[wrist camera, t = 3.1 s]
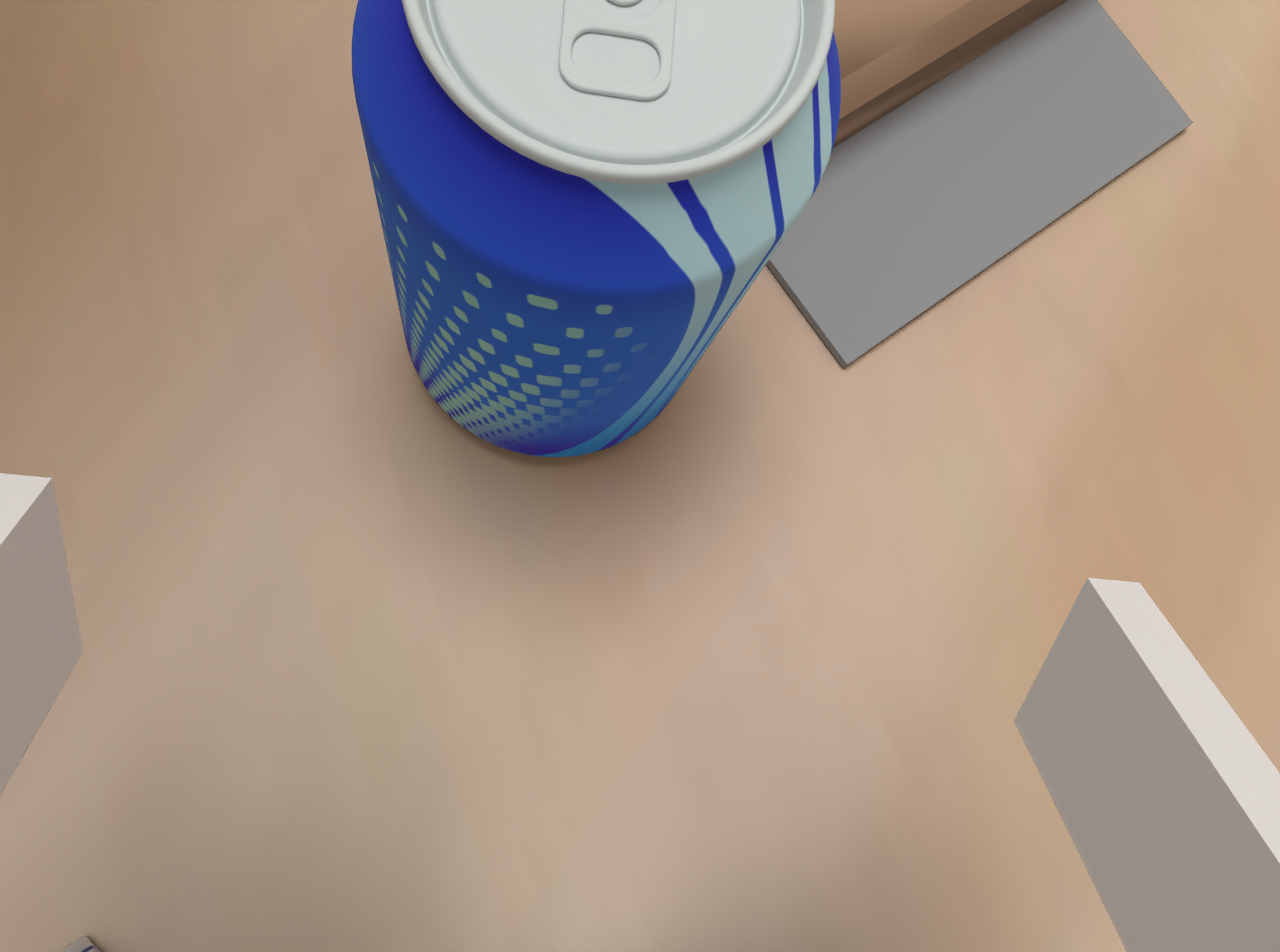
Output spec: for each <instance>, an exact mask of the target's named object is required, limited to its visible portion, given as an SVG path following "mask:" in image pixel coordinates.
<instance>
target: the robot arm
mask: <svg viewBox="0 0 1280 952" xmlns="http://www.w3.org/2000/svg"><path fill="white" fill-rule="evenodd" d="M82 652H83V648H82V643H81V637H80V632H79V626H78V621H77V615H76V609H75V604H74V598H73V593H72V587H71V582H70V576H69V571H68V565H67V560H66V554H65V548H64V543H63V537H62V532H61V526H60V521H59V515H58V510H57V504H56V499H55V493H54V487H53V482H52V478H46V477H35V476H25V475H15V474H4V473H0V795H1V794H2V792H3V790H4V788H5V787H6V785H7V783H8V781H9V780H10V778H11V776H12V774H13V773H14V771H15V769H16V767H17V766H18V764H19V762H20V760H21V759H22V757H23V755H24V753H25V752H26V750H27V748H28V746H29V745H30V743H31V741H32V740H33V738H34V736H35V734H36V733H37V731H38V729H39V727H40V726H41V724H42V722H43V720H44V719H45V717H46V715H47V713H48V712H49V710H50V708H51V706H52V705H53V703H54V701H55V699H56V698H57V696H58V694H59V692H60V691H61V689H62V687H63V685H64V684H65V682H66V680H67V678H68V677H69V675H70V673H71V671H72V670H73V668H74V666H75V664H76V663H77V661H78V659H79V657H80V656H81V654H82ZM1014 721H1015V724H1016V726H1017V728H1018V730H1019V732H1020V734H1021V736H1022V738H1023V740H1024V742H1025V744H1026V746H1027V748H1028V750H1029V752H1030V754H1031V756H1032V758H1033V760H1034V762H1035V765H1036V767H1037V769H1038V771H1039V773H1040V775H1041V777H1042V779H1043V781H1044V783H1045V785H1046V787H1047V789H1048V791H1049V793H1050V795H1051V797H1052V799H1053V801H1054V804H1055V806H1056V808H1057V810H1058V812H1059V814H1060V816H1061V818H1062V820H1063V822H1064V824H1065V826H1066V828H1067V830H1068V832H1069V834H1070V836H1071V838H1072V840H1073V842H1074V845H1075V847H1076V849H1077V851H1078V853H1079V855H1080V857H1081V859H1082V861H1083V863H1084V865H1085V867H1086V869H1087V871H1088V873H1089V875H1090V877H1091V879H1092V881H1093V884H1094V886H1095V888H1096V890H1097V892H1098V894H1099V896H1100V898H1101V900H1102V902H1103V904H1104V906H1105V908H1106V910H1107V912H1108V914H1109V916H1110V918H1111V920H1112V922H1113V925H1114V927H1115V929H1116V931H1117V933H1118V935H1119V937H1120V939H1121V941H1122V943H1123V945H1124V947H1125V949H1126V951H1127V952H1280V773H1279V772H1278V770H1277V769H1276V768H1275V766H1274V765H1273V764H1272V762H1271V761H1270V760H1269V758H1268V757H1267V756H1266V754H1265V753H1264V751H1263V750H1262V749H1261V747H1260V746H1259V745H1258V743H1257V742H1256V741H1255V739H1254V738H1253V736H1252V735H1251V734H1250V732H1249V731H1248V730H1247V728H1246V727H1245V726H1244V724H1243V723H1242V722H1241V720H1240V719H1239V717H1238V716H1237V715H1236V713H1235V712H1234V711H1233V709H1232V708H1231V707H1230V705H1229V704H1228V702H1227V701H1226V700H1225V698H1224V697H1223V696H1222V694H1221V693H1220V692H1219V690H1218V689H1217V688H1216V686H1215V685H1214V683H1213V682H1212V681H1211V679H1210V678H1209V677H1208V675H1207V674H1206V673H1205V671H1204V670H1203V668H1202V667H1201V666H1200V664H1199V663H1198V662H1197V660H1196V659H1195V658H1194V656H1193V655H1192V654H1191V652H1190V651H1189V649H1188V648H1187V647H1186V645H1185V644H1184V643H1183V641H1182V640H1181V639H1180V637H1179V636H1178V634H1177V633H1176V632H1175V630H1174V629H1173V628H1172V626H1171V625H1170V624H1169V622H1168V621H1167V620H1166V618H1165V617H1164V615H1163V614H1162V613H1161V611H1160V610H1159V609H1158V607H1157V606H1156V605H1155V603H1154V602H1153V600H1152V599H1151V598H1150V596H1149V595H1148V594H1147V592H1146V591H1145V590H1144V588H1143V587H1142V586H1141V584H1140V583H1136V582H1126V581H1116V580H1105V579H1095V578H1087V580H1086V582H1085V584H1084V586H1083V587H1082V589H1081V591H1080V593H1079V595H1078V597H1077V599H1076V601H1075V603H1074V605H1073V607H1072V609H1071V611H1070V613H1069V615H1068V617H1067V619H1066V621H1065V622H1064V624H1063V626H1062V628H1061V630H1060V632H1059V634H1058V636H1057V638H1056V640H1055V642H1054V644H1053V646H1052V648H1051V650H1050V652H1049V654H1048V656H1047V657H1046V659H1045V661H1044V663H1043V665H1042V667H1041V669H1040V671H1039V673H1038V675H1037V677H1036V679H1035V681H1034V683H1033V685H1032V687H1031V689H1030V691H1029V693H1028V694H1027V696H1026V698H1025V700H1024V702H1023V704H1022V706H1021V708H1020V710H1019V712H1018V714H1017V716H1016V718H1015V720H1014Z"/></svg>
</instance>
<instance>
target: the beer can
mask: <svg viewBox="0 0 1280 952" xmlns="http://www.w3.org/2000/svg"><path fill="white" fill-rule="evenodd" d="M834 17H835V0H358V4H357V9H356V14H355V19H354V25H353V37H352V76H353V83H354V90H355V97H356V103H357V107H358V112H359V117H360V122H361V127H362V131H363V136H364V141H365V146H366V151H367V156H368V160H369V165H370V170H371V175H372V180H373V184H374V189H375V194H376V199H377V204H378V209H379V213H380V218H381V223H382V228H383V233H384V237H385V242H386V247H387V252H388V257H389V262H390V266H391V271H392V276H393V281H394V286H395V290H396V295H397V300H398V305H399V310H400V315H401V319H402V324H403V329H404V334H405V339H406V343H407V347H408V350H409V354H410V356H411V359H412V362H413V365H414V367H415V369H416V371H417V373H418V375H419V377H420V379H421V381H422V382H423V384H424V386H425V387H426V389H427V390H428V392H429V393H430V394H431V396H432V397H433V398H434V400H435V401H436V402H437V403H438V405H439V406H440V407H441V408H442V409H443V410H444V411H445V412H446V413H447V414H448V415H449V416H450V417H451V418H453V419H454V420H455V421H456V422H457V423H458V424H460V425H461V426H462V427H464V428H465V429H467V430H468V431H469V432H471V433H473V434H474V435H476V436H478V437H479V438H481V439H483V440H485V441H487V442H489V443H491V444H494V445H496V446H498V447H501V448H504V449H507V450H510V451H513V452H517V453H521V454H526V455H532V456H539V457H570V456H577V455H584V454H588V453H592V452H596V451H600V450H603V449H605V448H608V447H611V446H613V445H615V444H618V443H620V442H622V441H624V440H626V439H627V438H629V437H631V436H633V435H634V434H636V433H637V432H639V431H640V430H641V429H643V428H644V427H645V426H647V425H648V424H649V423H650V422H651V421H652V420H654V419H655V418H656V417H657V416H658V415H659V414H660V413H661V412H662V410H663V409H664V408H665V407H666V406H667V405H668V403H669V402H670V401H671V399H672V398H673V396H674V395H675V394H676V392H677V391H678V389H679V388H680V386H681V385H682V384H683V382H684V381H685V379H686V378H687V376H688V375H689V374H690V372H691V371H692V369H693V368H694V366H695V365H696V364H697V362H698V361H699V359H700V358H701V356H702V355H703V353H704V352H705V351H706V349H707V348H708V346H709V345H710V343H711V342H712V341H713V339H714V338H715V336H716V335H717V333H718V332H719V331H720V329H721V328H722V326H723V325H724V323H725V322H726V321H727V319H728V318H729V316H730V315H731V313H732V312H733V311H734V309H735V308H736V306H737V305H738V303H739V302H740V301H741V299H742V298H743V296H744V295H745V293H746V292H747V290H748V289H749V288H750V286H751V285H752V283H753V282H754V280H755V279H756V278H757V276H758V275H759V273H760V272H761V270H762V269H763V268H764V266H765V265H766V263H767V262H768V260H769V259H770V258H771V256H772V255H773V253H774V252H775V250H776V249H777V248H778V246H779V245H780V243H781V242H782V240H783V239H784V237H785V236H786V235H787V233H788V232H789V230H790V229H791V227H792V226H793V225H794V223H795V222H796V220H797V219H798V217H799V216H800V215H801V213H802V212H803V210H804V209H805V207H806V206H807V205H808V203H809V201H810V199H811V198H812V196H813V194H814V192H815V191H816V189H817V187H818V185H819V183H820V180H821V178H822V176H823V173H824V171H825V169H826V166H827V164H828V162H829V159H830V156H831V152H832V149H833V146H834V143H835V139H836V134H837V128H838V123H839V115H840V103H841V75H840V64H839V56H838V49H837V45H836V40H835V36H834V32H833V29H834Z"/></svg>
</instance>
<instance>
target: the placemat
mask: <svg viewBox="0 0 1280 952" xmlns="http://www.w3.org/2000/svg"><path fill="white" fill-rule="evenodd" d="M1192 123H1193V122H1192V121H1191V119H1190V118H1189V117H1188V115H1187V114H1186V113H1185V112H1184V110H1183V109H1182V108H1181V107H1180V105H1179V104H1178V103H1177V101H1176V100H1175V99H1174V98H1173V96H1172V95H1171V94H1170V93H1169V91H1168V90H1167V89H1166V87H1165V86H1164V85H1163V84H1162V82H1161V81H1160V80H1159V79H1158V77H1157V76H1156V75H1155V73H1154V72H1153V71H1152V70H1151V68H1150V67H1149V66H1148V64H1147V63H1146V62H1145V61H1144V59H1143V58H1142V57H1141V56H1140V54H1139V53H1138V52H1137V50H1136V49H1135V48H1134V47H1133V45H1132V44H1131V43H1130V42H1129V40H1128V39H1127V38H1126V36H1125V35H1124V34H1123V33H1122V31H1121V30H1120V29H1119V28H1118V26H1117V25H1116V24H1115V22H1114V21H1113V20H1112V19H1111V17H1110V16H1109V15H1108V13H1107V12H1106V11H1105V10H1104V8H1103V7H1102V6H1101V5H1100V3H1099V2H1098V1H1097V0H1068V1H1067V2H1065V3H1063V4H1062V5H1060V6H1059V7H1057V8H1055V9H1054V10H1052V11H1051V12H1049V13H1047V14H1046V15H1044V16H1043V17H1041V18H1040V19H1038V20H1036V21H1035V22H1033V23H1032V24H1030V25H1028V26H1027V27H1025V28H1024V29H1022V30H1020V31H1019V32H1017V33H1016V34H1014V35H1012V36H1011V37H1009V38H1008V39H1006V40H1004V41H1003V42H1001V43H1000V44H998V45H997V46H995V47H993V48H992V49H990V50H989V51H987V52H985V53H984V54H982V55H981V56H979V57H977V58H976V59H974V60H973V61H971V62H969V63H968V64H966V65H965V66H963V67H961V68H960V69H958V70H957V71H955V72H954V73H952V74H950V75H949V76H947V77H946V78H944V79H942V80H941V81H939V82H938V83H936V84H934V85H933V86H931V87H930V88H928V89H926V90H925V91H923V92H922V93H920V94H918V95H917V96H915V97H914V98H912V99H911V100H909V101H907V102H906V103H904V104H903V105H901V106H899V107H898V108H896V109H895V110H893V111H891V112H890V113H888V114H887V115H885V116H883V117H882V118H880V119H879V120H877V121H875V122H874V123H872V124H871V125H869V126H868V127H866V128H864V129H863V130H861V131H860V132H858V133H856V134H855V135H853V136H852V137H850V138H848V139H847V140H845V141H844V142H842V143H840V144H839V145H837V146H836V147H834V148H833V149H832V152H831V156H830V159H829V162H828V164H827V166H826V169H825V171H824V173H823V176H822V178H821V180H820V183H819V185H818V187H817V189H816V191H815V192H814V194H813V196H812V198H811V199H810V201H809V203H808V205H807V206H806V207H805V209H804V210H803V212H802V213H801V215H800V216H799V217H798V219H797V220H796V222H795V223H794V225H793V226H792V227H791V229H790V230H789V232H788V233H787V235H786V236H785V237H784V239H783V240H782V242H781V243H780V245H779V246H778V248H777V249H776V250H775V252H774V253H773V255H772V256H771V258H770V259H769V260H768V262H767V263H766V265H767V266H768V268H769V269H770V270H771V272H772V273H773V275H774V276H775V277H776V279H777V280H778V281H779V283H780V284H781V285H782V287H783V288H784V289H785V291H786V292H787V294H788V295H789V296H790V298H791V299H792V300H793V302H794V303H795V304H796V306H797V307H798V308H799V310H800V311H801V312H802V314H803V315H804V317H805V318H806V319H807V321H808V322H809V323H810V325H811V326H812V327H813V329H814V330H815V331H816V333H817V334H818V335H819V337H820V338H821V340H822V341H823V342H824V344H825V345H826V346H827V348H828V349H829V350H830V352H831V353H832V354H833V356H834V357H835V359H836V360H837V361H838V363H839V364H840V365H841V367H842V368H844V367H846V366H847V365H848V364H850V363H851V362H853V361H854V360H856V359H857V358H858V357H860V356H861V355H863V354H864V353H866V352H867V351H868V350H870V349H871V348H873V347H874V346H876V345H877V344H878V343H880V342H881V341H883V340H884V339H886V338H887V337H888V336H890V335H891V334H893V333H894V332H896V331H897V330H898V329H900V328H901V327H903V326H904V325H906V324H907V323H908V322H910V321H911V320H913V319H914V318H916V317H917V316H918V315H920V314H921V313H923V312H924V311H926V310H927V309H929V308H930V307H931V306H933V305H934V304H936V303H937V302H939V301H940V300H941V299H943V298H944V297H946V296H947V295H949V294H950V293H951V292H953V291H954V290H956V289H957V288H959V287H960V286H961V285H963V284H964V283H966V282H967V281H969V280H970V279H971V278H973V277H974V276H976V275H977V274H979V273H980V272H981V271H983V270H984V269H986V268H987V267H989V266H990V265H991V264H993V263H994V262H996V261H997V260H999V259H1000V258H1001V257H1003V256H1004V255H1006V254H1007V253H1009V252H1010V251H1011V250H1013V249H1014V248H1016V247H1017V246H1019V245H1020V244H1021V243H1023V242H1024V241H1026V240H1027V239H1029V238H1030V237H1031V236H1033V235H1034V234H1036V233H1037V232H1039V231H1040V230H1041V229H1043V228H1044V227H1046V226H1047V225H1049V224H1050V223H1052V222H1053V221H1054V220H1056V219H1057V218H1059V217H1060V216H1062V215H1063V214H1064V213H1066V212H1067V211H1069V210H1070V209H1072V208H1073V207H1074V206H1076V205H1077V204H1079V203H1080V202H1082V201H1083V200H1084V199H1086V198H1087V197H1089V196H1090V195H1092V194H1093V193H1094V192H1096V191H1097V190H1099V189H1100V188H1102V187H1103V186H1104V185H1106V184H1107V183H1109V182H1110V181H1112V180H1113V179H1114V178H1116V177H1117V176H1119V175H1120V174H1122V173H1123V172H1124V171H1126V170H1127V169H1129V168H1130V167H1132V166H1133V165H1134V164H1136V163H1137V162H1139V161H1140V160H1142V159H1143V158H1144V157H1146V156H1147V155H1149V154H1150V153H1152V152H1153V151H1154V150H1156V149H1157V148H1159V147H1160V146H1162V145H1163V144H1164V143H1166V142H1167V141H1169V140H1170V139H1172V138H1173V137H1175V136H1176V135H1177V134H1179V133H1180V132H1182V131H1183V130H1185V129H1186V128H1187V127H1188V126H1190V125H1191V124H1192Z"/></svg>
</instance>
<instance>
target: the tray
mask: <svg viewBox="0 0 1280 952" xmlns="http://www.w3.org/2000/svg"><path fill="white" fill-rule="evenodd" d="M1067 1H1068V0H835V17H834V29H833V32H834V36H835V40H836V45H837V49H838V56H839V64H840V75H841V103H840V115H839V123H838V128H837V134H836V139H835V143H834V146H833V148H834V147H836V146H837V145H839V144H840V143H842V142H844V141H845V140H847V139H848V138H850V137H852V136H853V135H855V134H856V133H858V132H860V131H861V130H863V129H864V128H866V127H868V126H869V125H871V124H872V123H874V122H875V121H877V120H879V119H880V118H882V117H883V116H885V115H887V114H888V113H890V112H891V111H893V110H895V109H896V108H898V107H899V106H901V105H903V104H904V103H906V102H907V101H909V100H911V99H912V98H914V97H915V96H917V95H918V94H920V93H922V92H923V91H925V90H926V89H928V88H930V87H931V86H933V85H934V84H936V83H938V82H939V81H941V80H942V79H944V78H946V77H947V76H949V75H950V74H952V73H954V72H955V71H957V70H958V69H960V68H961V67H963V66H965V65H966V64H968V63H969V62H971V61H973V60H974V59H976V58H977V57H979V56H981V55H982V54H984V53H985V52H987V51H989V50H990V49H992V48H993V47H995V46H997V45H998V44H1000V43H1001V42H1003V41H1004V40H1006V39H1008V38H1009V37H1011V36H1012V35H1014V34H1016V33H1017V32H1019V31H1020V30H1022V29H1024V28H1025V27H1027V26H1028V25H1030V24H1032V23H1033V22H1035V21H1036V20H1038V19H1040V18H1041V17H1043V16H1044V15H1046V14H1047V13H1049V12H1051V11H1052V10H1054V9H1055V8H1057V7H1059V6H1060V5H1062V4H1063V3H1065V2H1067Z"/></svg>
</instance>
